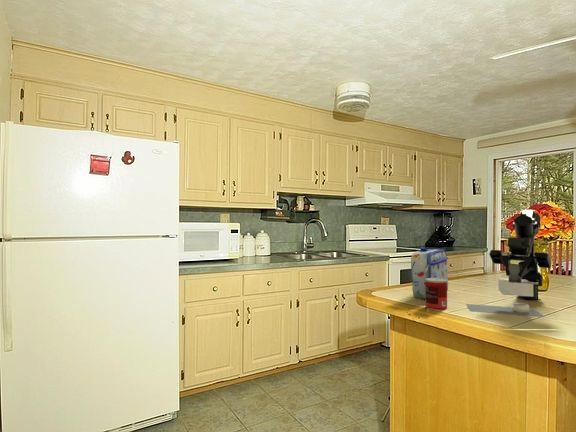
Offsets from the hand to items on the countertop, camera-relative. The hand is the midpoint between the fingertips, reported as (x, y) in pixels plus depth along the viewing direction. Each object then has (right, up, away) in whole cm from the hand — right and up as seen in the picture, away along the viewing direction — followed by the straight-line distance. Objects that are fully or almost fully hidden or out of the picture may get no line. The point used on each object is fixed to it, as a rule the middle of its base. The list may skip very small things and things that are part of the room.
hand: (513, 275), depth 126 cm
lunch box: (-19, -14, +27) cm, 36 cm away
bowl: (+3, -13, 0) cm, 13 cm away
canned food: (-26, -14, +6) cm, 30 cm away
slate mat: (-3, -13, +2) cm, 14 cm away
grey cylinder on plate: (+1, -6, +1) cm, 7 cm away
